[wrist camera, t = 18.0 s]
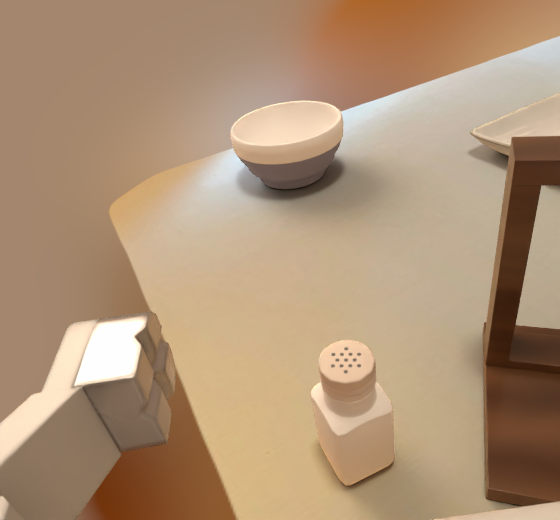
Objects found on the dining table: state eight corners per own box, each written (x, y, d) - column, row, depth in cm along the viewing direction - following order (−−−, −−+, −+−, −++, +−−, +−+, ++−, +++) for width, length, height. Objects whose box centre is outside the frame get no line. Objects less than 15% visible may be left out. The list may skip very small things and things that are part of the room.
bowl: (366, 179, 63) (363, 123, 58) (261, 214, 60) (249, 158, 56) (319, 142, 74) (314, 92, 70) (228, 170, 71) (216, 119, 67)
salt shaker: (344, 493, 31) (331, 400, 26) (316, 443, 34) (299, 350, 29) (398, 465, 32) (396, 369, 27) (366, 419, 35) (358, 325, 30)
